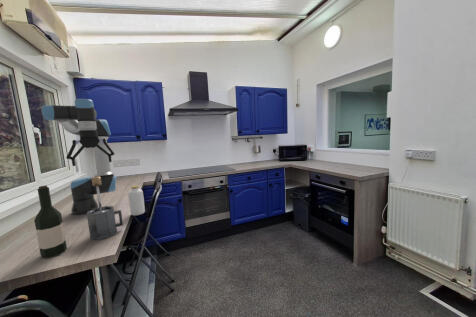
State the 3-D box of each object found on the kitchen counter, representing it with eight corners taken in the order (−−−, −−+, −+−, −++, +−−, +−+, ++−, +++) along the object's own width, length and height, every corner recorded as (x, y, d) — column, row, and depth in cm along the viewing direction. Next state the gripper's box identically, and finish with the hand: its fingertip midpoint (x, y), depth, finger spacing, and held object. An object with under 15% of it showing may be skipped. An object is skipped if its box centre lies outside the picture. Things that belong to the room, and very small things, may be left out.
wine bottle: (52, 248, 89) (41, 184, 86) (71, 246, 90) (61, 183, 86) (35, 259, 81) (22, 189, 77) (56, 257, 81) (44, 187, 78)
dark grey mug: (91, 233, 102) (87, 209, 100) (122, 225, 109) (119, 203, 108) (89, 242, 92) (85, 216, 91) (124, 233, 100) (120, 208, 98)
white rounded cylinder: (139, 216, 122) (135, 188, 120) (127, 216, 123) (124, 188, 121) (147, 211, 130) (144, 185, 128) (137, 211, 131) (133, 185, 129)
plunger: (93, 213, 100) (87, 177, 98) (109, 209, 104) (104, 175, 101) (92, 217, 94) (86, 179, 92) (109, 213, 98) (104, 177, 96)
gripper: (54, 130, 91) (61, 174, 93) (116, 129, 105) (121, 167, 107) (57, 131, 97) (64, 172, 100) (115, 129, 111) (120, 166, 113)
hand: (94, 170), depth 103 cm, fingers open, 13 cm apart
